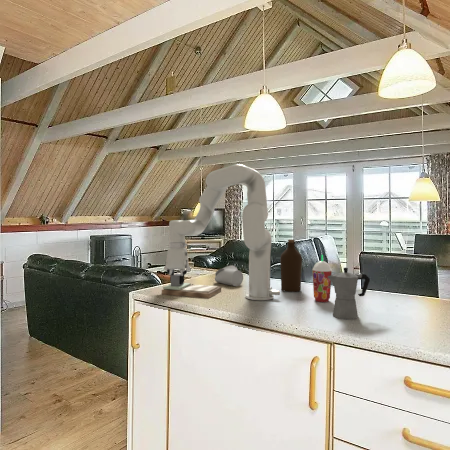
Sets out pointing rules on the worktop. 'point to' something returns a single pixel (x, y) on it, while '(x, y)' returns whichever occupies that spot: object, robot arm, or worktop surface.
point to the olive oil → (291, 268)
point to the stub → (176, 283)
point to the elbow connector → (229, 276)
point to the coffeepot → (347, 293)
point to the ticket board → (194, 291)
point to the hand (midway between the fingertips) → (177, 283)
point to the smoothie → (321, 281)
